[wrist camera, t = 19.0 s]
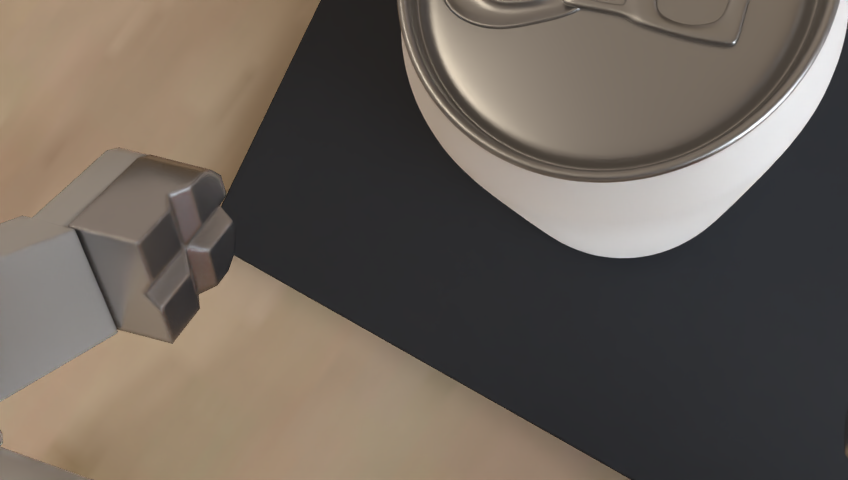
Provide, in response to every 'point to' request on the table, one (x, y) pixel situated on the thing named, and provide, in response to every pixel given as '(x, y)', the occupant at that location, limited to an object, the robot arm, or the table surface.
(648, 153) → the can
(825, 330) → the desk mat
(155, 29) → the table surface
